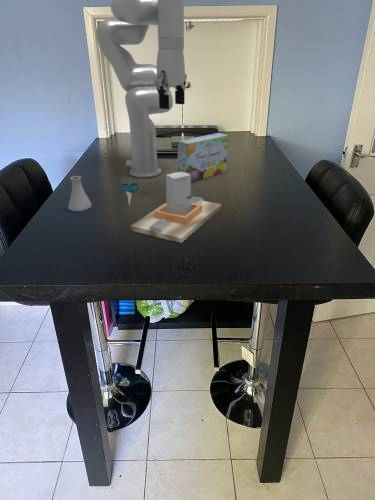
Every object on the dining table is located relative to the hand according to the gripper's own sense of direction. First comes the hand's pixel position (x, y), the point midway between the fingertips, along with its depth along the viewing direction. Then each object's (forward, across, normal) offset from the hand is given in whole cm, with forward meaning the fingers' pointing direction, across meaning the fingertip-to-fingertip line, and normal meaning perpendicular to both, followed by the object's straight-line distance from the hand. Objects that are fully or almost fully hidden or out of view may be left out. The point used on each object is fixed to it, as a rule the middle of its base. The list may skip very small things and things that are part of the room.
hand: (172, 106), depth 119 cm
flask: (+28, +27, -19) cm, 44 cm away
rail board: (+28, +20, +13) cm, 37 cm away
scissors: (+29, +10, -12) cm, 33 cm away
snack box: (+28, -19, +2) cm, 34 cm away
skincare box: (+27, +20, +13) cm, 36 cm away
